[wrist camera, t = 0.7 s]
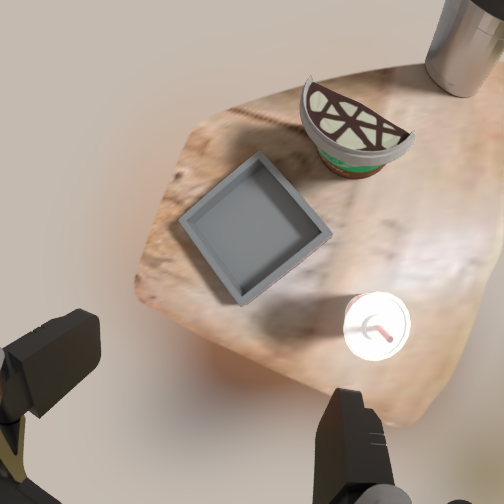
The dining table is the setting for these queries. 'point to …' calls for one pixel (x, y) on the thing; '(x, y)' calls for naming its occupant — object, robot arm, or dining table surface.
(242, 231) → the tray
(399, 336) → the beverage cup
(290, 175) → the dining table surface
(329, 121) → the food container
